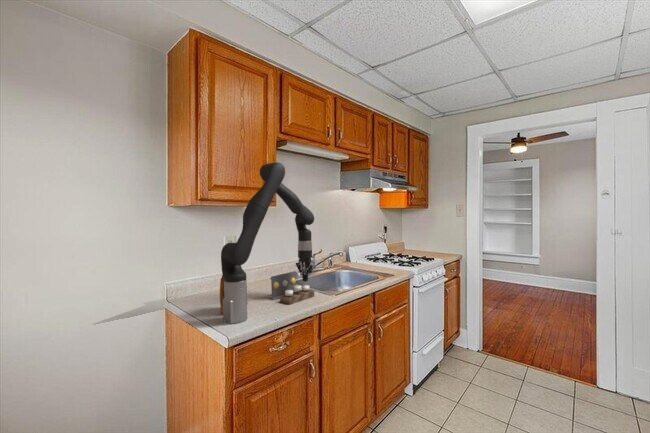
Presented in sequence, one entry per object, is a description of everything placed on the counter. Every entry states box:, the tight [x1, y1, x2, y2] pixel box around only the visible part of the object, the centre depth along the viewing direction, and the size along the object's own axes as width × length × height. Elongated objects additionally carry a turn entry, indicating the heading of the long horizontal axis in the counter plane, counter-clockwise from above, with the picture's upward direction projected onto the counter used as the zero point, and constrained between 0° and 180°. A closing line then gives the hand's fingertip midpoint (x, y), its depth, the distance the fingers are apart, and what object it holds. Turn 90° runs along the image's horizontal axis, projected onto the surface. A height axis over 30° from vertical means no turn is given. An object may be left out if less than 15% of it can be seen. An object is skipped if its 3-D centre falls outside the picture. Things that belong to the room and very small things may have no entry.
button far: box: [301, 284, 310, 291], centre depth 165 cm, size 4×4×2 cm
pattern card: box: [269, 270, 297, 301], centre depth 168 cm, size 18×3×12 cm, turn 139°
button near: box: [285, 290, 293, 296], centre depth 156 cm, size 4×4×2 cm
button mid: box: [294, 284, 302, 291], centre depth 161 cm, size 4×4×2 cm
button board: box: [279, 289, 315, 306], centre depth 161 cm, size 18×7×3 cm, turn 139°
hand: (305, 281), depth 165 cm, fingers closed
